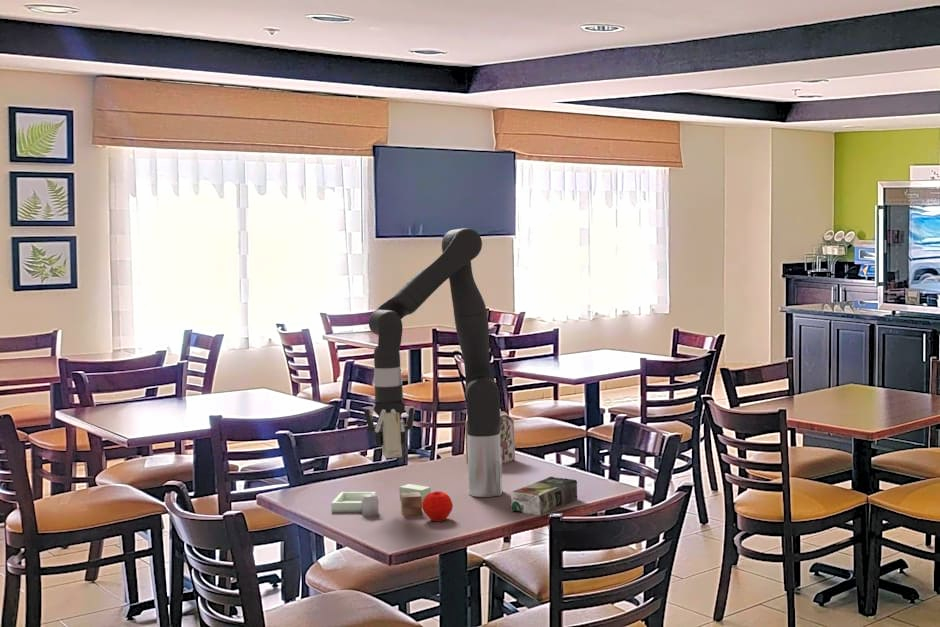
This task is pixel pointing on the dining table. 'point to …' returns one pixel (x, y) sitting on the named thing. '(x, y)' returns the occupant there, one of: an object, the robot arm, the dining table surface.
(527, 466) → the dining table surface
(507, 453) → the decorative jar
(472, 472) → the robot arm
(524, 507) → the juice carton
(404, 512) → the walnut block
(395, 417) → the skincare box
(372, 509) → the grey cylinder
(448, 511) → the apple
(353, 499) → the tray
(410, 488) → the sage block
